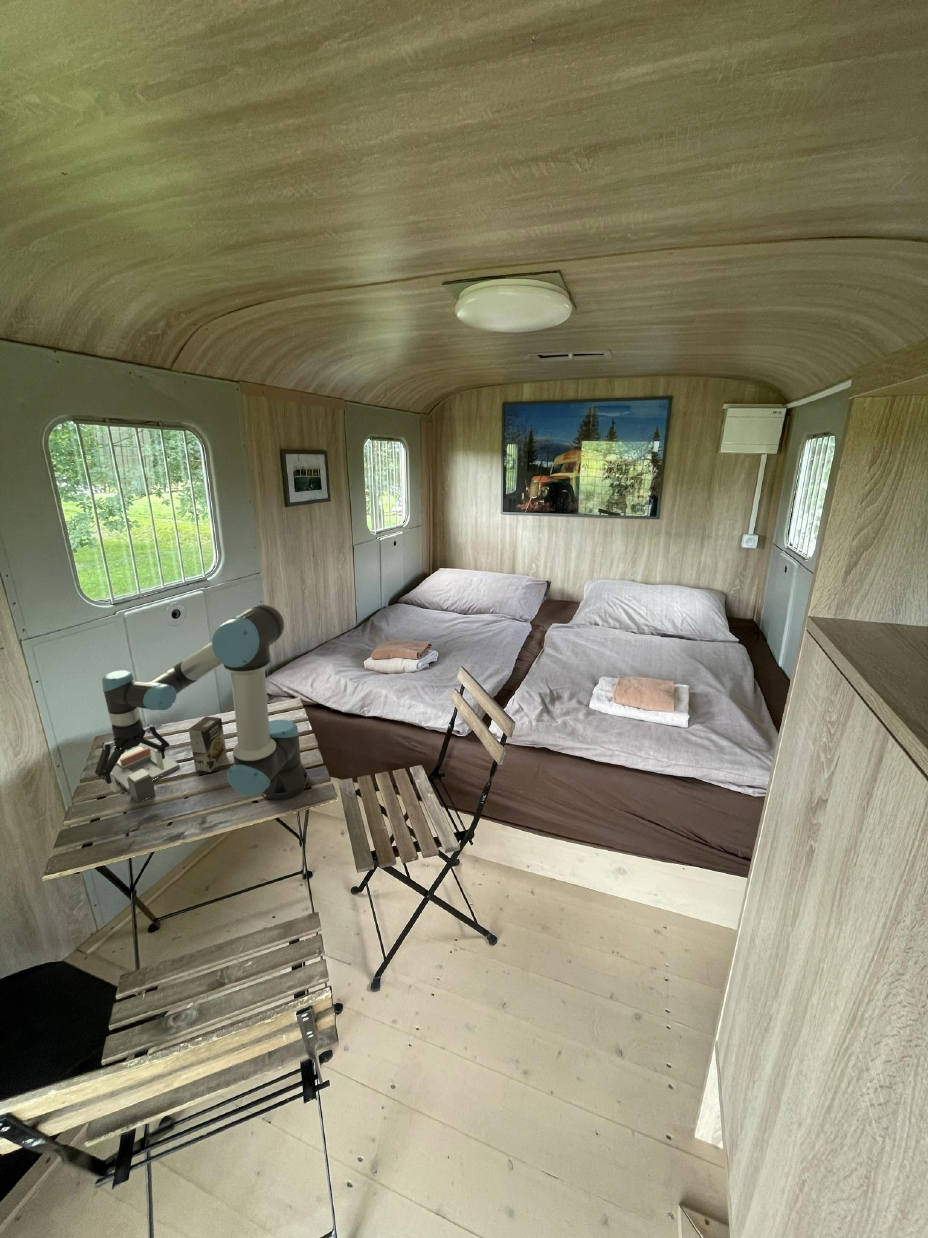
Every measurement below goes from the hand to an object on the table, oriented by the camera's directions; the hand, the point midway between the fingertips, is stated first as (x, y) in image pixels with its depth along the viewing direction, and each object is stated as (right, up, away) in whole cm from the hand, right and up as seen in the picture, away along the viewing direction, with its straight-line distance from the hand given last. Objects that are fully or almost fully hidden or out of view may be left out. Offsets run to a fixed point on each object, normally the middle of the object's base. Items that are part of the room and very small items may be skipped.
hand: (138, 779), depth 157 cm
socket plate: (-7, -1, +14) cm, 15 cm away
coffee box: (+14, -1, +19) cm, 23 cm away
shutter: (-14, +2, +17) cm, 22 cm away
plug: (0, -6, +2) cm, 6 cm away
